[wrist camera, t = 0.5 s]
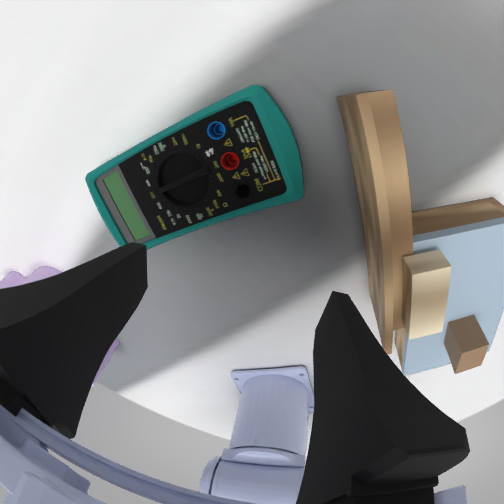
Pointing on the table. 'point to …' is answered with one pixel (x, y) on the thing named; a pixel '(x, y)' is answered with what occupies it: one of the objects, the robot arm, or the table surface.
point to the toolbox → (392, 204)
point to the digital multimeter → (201, 171)
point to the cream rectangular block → (425, 293)
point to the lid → (463, 297)
